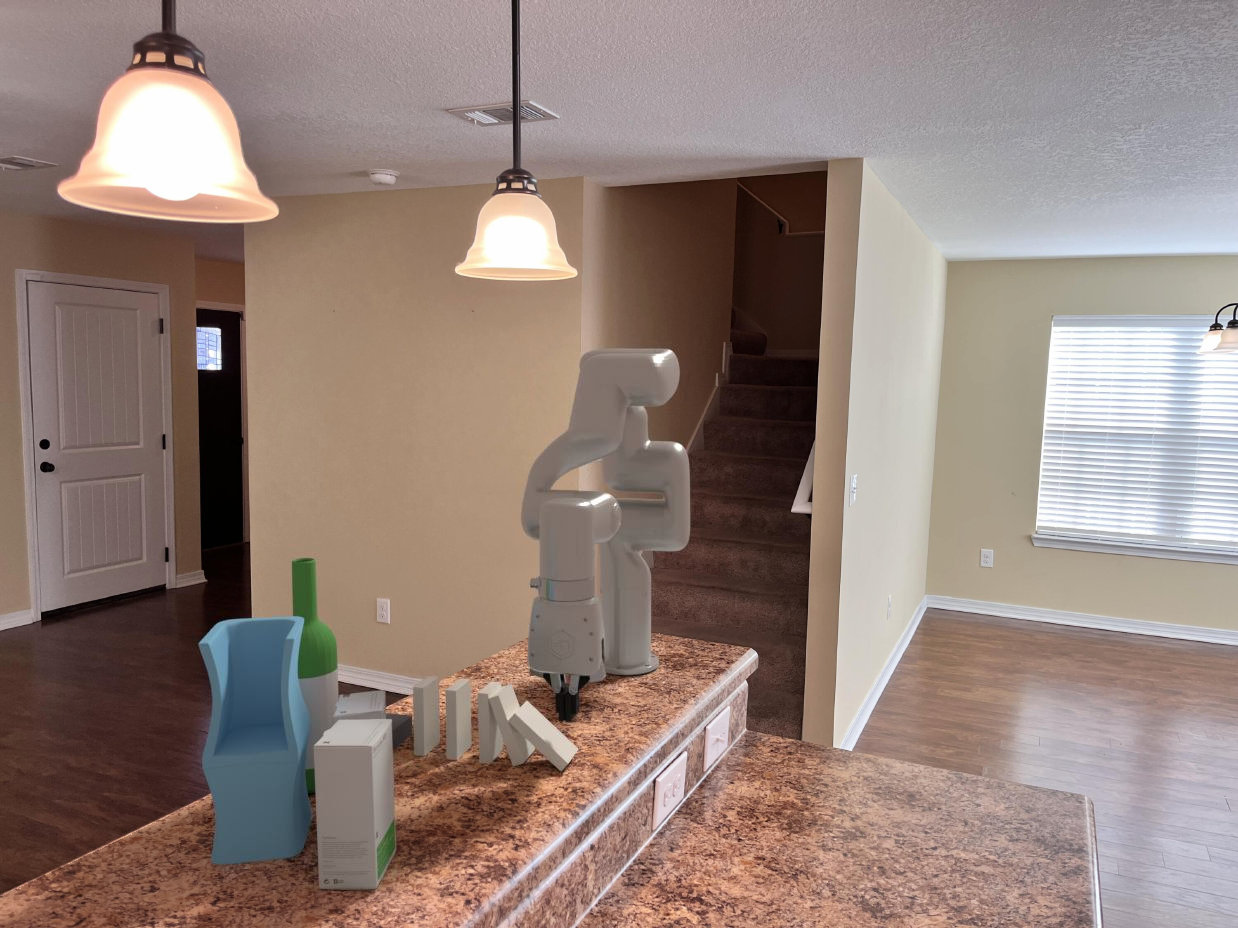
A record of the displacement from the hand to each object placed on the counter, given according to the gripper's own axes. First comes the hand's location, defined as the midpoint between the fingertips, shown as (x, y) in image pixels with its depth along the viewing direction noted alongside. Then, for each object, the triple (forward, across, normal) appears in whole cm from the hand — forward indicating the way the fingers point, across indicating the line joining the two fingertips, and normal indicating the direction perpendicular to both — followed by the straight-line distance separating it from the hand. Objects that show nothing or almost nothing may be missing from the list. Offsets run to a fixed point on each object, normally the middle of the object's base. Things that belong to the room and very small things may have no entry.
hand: (567, 718), depth 121 cm
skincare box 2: (+7, -15, -31) cm, 35 cm away
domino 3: (+7, -11, 0) cm, 13 cm away
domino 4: (+6, -6, 0) cm, 9 cm away
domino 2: (+7, -16, 0) cm, 18 cm away
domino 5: (+6, 0, 0) cm, 6 cm away
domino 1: (+7, -21, 0) cm, 22 cm away
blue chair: (+7, -28, -28) cm, 40 cm away
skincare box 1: (+7, -20, -21) cm, 29 cm away
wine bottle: (+7, -31, -14) cm, 35 cm away
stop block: (+7, -28, 0) cm, 28 cm away
